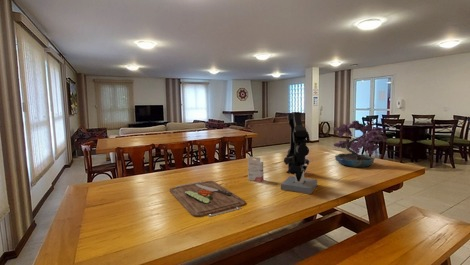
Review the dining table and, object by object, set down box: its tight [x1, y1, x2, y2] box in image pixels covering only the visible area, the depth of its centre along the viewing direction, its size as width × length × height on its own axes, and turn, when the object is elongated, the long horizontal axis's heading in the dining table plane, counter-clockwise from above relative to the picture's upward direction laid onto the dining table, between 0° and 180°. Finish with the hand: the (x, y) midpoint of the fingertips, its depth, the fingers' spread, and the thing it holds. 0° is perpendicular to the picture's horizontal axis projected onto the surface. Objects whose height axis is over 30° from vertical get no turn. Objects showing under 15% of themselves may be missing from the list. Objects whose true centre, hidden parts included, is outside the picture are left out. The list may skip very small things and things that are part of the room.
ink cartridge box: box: [247, 156, 265, 183], centre depth 153 cm, size 9×5×15 cm, turn 62°
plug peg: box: [294, 169, 305, 184], centre depth 139 cm, size 4×4×8 cm
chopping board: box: [168, 180, 247, 218], centre depth 129 cm, size 45×27×3 cm, turn 30°
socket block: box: [280, 175, 318, 195], centre depth 140 cm, size 16×16×3 cm
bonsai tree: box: [333, 120, 388, 168], centre depth 183 cm, size 35×27×32 cm
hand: (299, 180), depth 139 cm, fingers closed on plug peg, 4 cm apart
